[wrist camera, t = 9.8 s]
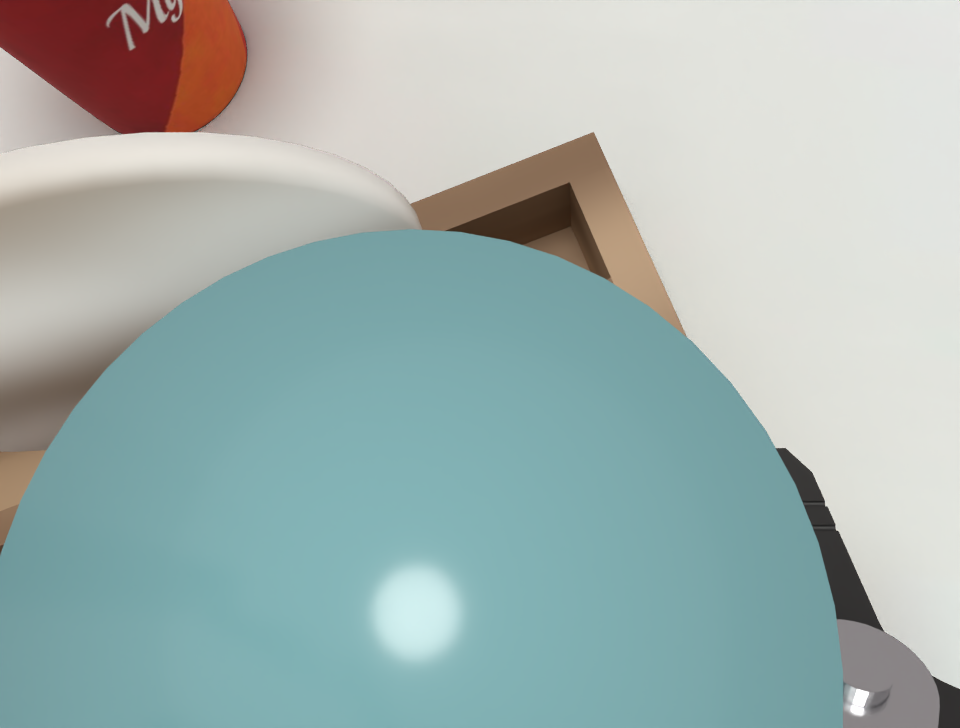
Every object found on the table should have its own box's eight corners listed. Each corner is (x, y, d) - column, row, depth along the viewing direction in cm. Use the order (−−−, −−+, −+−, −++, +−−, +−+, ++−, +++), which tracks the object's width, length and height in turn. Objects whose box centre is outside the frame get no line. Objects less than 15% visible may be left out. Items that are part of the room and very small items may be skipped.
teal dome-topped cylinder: (350, 486, 16) (-69, 388, 6) (596, 394, 16) (622, 118, 6) (431, 761, 15) (50, 1321, 4) (706, 665, 14) (1041, 1003, 4)
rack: (-34, 440, 21) (-751, 330, 10) (591, 198, 21) (604, -237, 9) (44, 965, 18) (-955, 1767, 6) (812, 699, 17) (1320, 1060, 5)
